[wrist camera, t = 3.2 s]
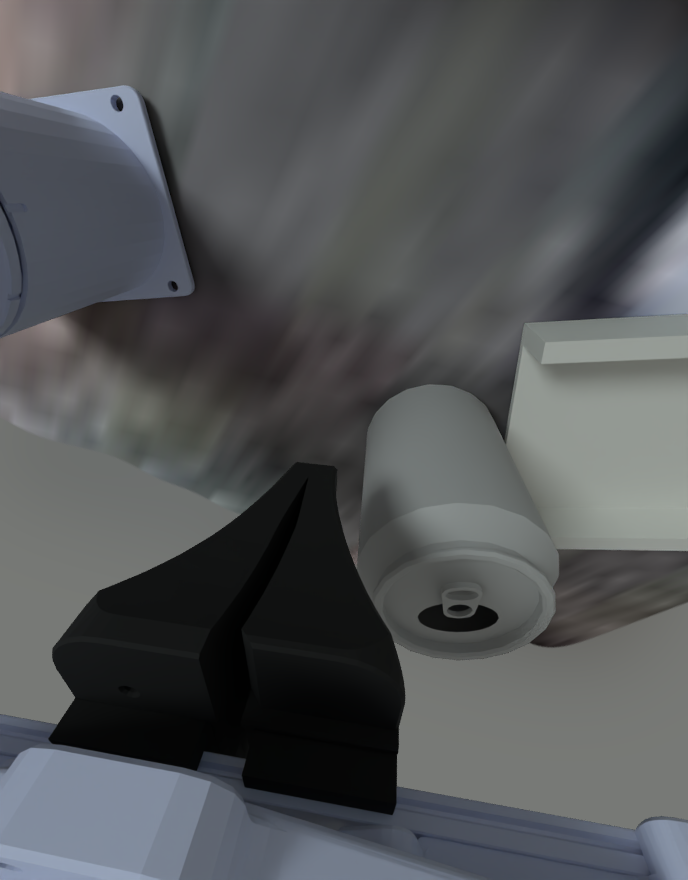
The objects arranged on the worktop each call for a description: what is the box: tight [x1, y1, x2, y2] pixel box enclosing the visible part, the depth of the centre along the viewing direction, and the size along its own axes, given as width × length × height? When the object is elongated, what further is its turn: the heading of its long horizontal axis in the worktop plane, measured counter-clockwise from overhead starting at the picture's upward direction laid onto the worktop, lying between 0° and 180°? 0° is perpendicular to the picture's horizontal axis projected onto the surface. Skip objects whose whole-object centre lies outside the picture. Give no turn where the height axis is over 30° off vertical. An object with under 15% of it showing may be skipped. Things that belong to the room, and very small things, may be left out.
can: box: [357, 384, 559, 660], centre depth 18 cm, size 8×8×12 cm
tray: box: [504, 314, 688, 551], centre depth 20 cm, size 15×13×3 cm
